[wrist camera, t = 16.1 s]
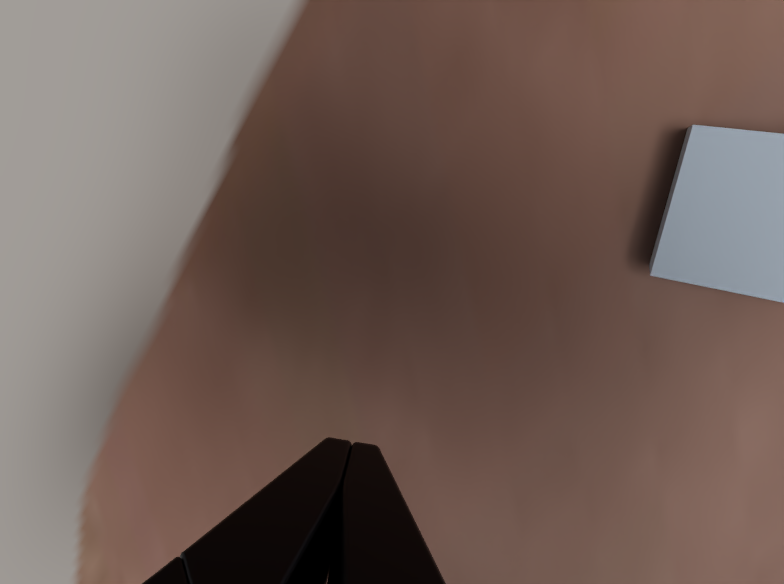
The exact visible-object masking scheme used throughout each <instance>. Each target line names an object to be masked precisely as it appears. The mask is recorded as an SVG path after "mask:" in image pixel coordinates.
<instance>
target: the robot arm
mask: <svg viewBox="0 0 784 584" xmlns="http://www.w3.org/2000/svg"><path fill="white" fill-rule="evenodd" d="M328 574H329V575H328ZM327 579H328V582H327ZM326 583H327V584H446V583H445V581H444V579H443V577H442V575H441V573H440V571H439V569H438V567H437V565H436V563H435V561H434V559H433V557H432V555H431V553H430V551H429V549H428V547H427V545H426V543H425V541H424V539H423V537H422V534H421V532H420V530H419V528H418V526H417V524H416V522H415V520H414V518H413V516H412V514H411V512H410V510H409V508H408V506H407V504H406V502H405V500H404V498H403V496H402V494H401V492H400V490H399V488H398V486H397V484H396V482H395V479H394V477H393V475H392V473H391V471H390V469H389V467H388V465H387V463H386V461H385V459H384V457H383V455H382V453H381V451H380V449H379V447H378V446H376V445H372V444H366V443H360V442H355V443H353V445H352V444H351V442H350V441H348V440H342V439H336V438H330V437H328V438H326V439H324V440H323V441H322V442H320V443H319V444H318V445H317V446H315V447H314V448H313V449H312V450H310V451H309V452H308V453H307V454H305V455H304V456H303V457H302V458H300V459H299V460H298V461H297V462H295V463H294V464H293V465H292V466H290V467H289V468H288V469H287V470H285V471H284V472H283V473H282V474H280V475H279V476H278V477H277V478H275V479H274V480H273V481H271V482H270V483H269V484H268V485H266V486H265V487H264V488H263V489H261V490H260V491H259V492H258V493H256V494H255V495H254V496H253V497H251V498H250V499H249V500H248V501H246V502H245V503H244V504H243V505H241V506H240V507H239V508H238V509H236V510H235V511H234V512H233V513H231V514H230V515H229V516H227V517H226V518H225V519H224V520H222V521H221V522H220V523H219V524H217V525H216V526H215V527H214V528H212V529H211V530H210V531H209V532H207V533H206V534H205V535H204V536H202V537H201V538H200V539H199V540H197V541H196V542H195V543H194V544H192V545H191V546H190V547H189V548H187V549H186V550H185V551H184V552H182V553H181V555H180V557H176V558H174V559H173V560H172V561H171V562H169V563H168V564H167V565H166V566H164V567H163V568H162V569H161V570H159V571H158V572H157V573H155V574H154V575H153V576H152V577H150V578H149V579H148V580H146V581H145V582H144V583H142V584H326Z"/></svg>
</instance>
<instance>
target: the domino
mask: <svg viewBox="0 0 784 584" xmlns="http://www.w3.org/2000/svg"><path fill="white" fill-rule="evenodd" d="M649 269H650V276H655V277H660V278H665V279H670V280H675V281H680V282H684V283H689V284H694V285H699V286H704V287H709V288H714V289H719V290H724V291H729V292H734V293H739V294H743V295H748V296H753V297H758V298H763V299H768V300H773V301H778V302H783V303H784V134H781V133H771V132H761V131H751V130H741V129H731V128H721V127H711V126H701V125H692V126H690V127H688V129H687V132H686V136H685V139H684V143H683V146H682V150H681V153H680V157H679V161H678V164H677V168H676V171H675V175H674V178H673V182H672V185H671V189H670V192H669V196H668V200H667V203H666V207H665V210H664V214H663V217H662V221H661V224H660V228H659V232H658V235H657V239H656V242H655V246H654V249H653V253H652V256H651V260H650V264H649Z"/></svg>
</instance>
